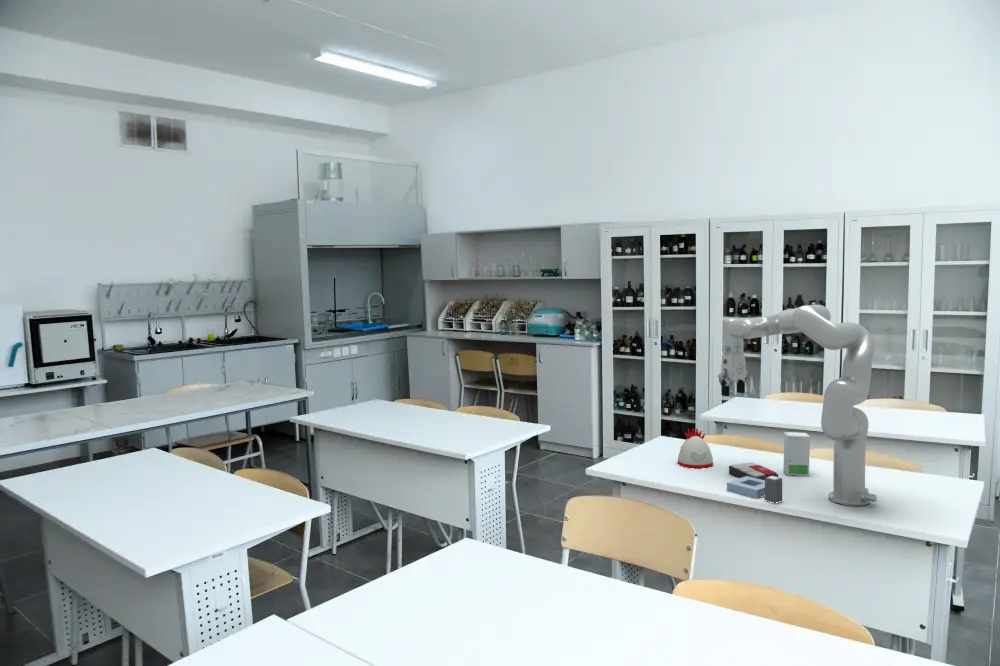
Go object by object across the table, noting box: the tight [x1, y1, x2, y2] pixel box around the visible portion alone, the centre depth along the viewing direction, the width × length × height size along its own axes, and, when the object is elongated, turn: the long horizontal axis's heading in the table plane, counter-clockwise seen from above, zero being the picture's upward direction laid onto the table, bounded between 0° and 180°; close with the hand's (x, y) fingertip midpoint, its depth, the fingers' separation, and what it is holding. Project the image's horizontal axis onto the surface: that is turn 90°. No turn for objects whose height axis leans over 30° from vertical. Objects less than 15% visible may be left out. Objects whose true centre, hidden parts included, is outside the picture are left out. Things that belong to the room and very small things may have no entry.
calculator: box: [728, 461, 779, 480], centre depth 259 cm, size 11×4×15 cm
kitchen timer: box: [677, 428, 714, 470], centre depth 279 cm, size 14×14×15 cm
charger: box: [764, 476, 783, 504], centre depth 231 cm, size 4×4×8 cm
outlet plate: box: [726, 476, 765, 499], centre depth 243 cm, size 12×12×3 cm
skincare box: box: [782, 431, 811, 477], centre depth 261 cm, size 8×7×16 cm
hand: (733, 394), depth 263 cm, fingers open, 9 cm apart
